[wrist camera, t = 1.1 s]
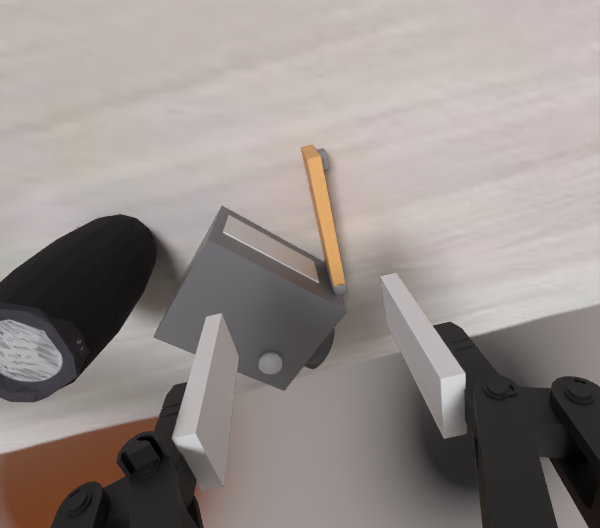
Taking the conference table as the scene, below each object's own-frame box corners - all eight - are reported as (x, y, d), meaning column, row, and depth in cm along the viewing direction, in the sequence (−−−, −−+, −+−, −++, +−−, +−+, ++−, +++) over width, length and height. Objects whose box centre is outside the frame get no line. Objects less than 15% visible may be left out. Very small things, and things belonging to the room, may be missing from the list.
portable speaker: (69, 213, 39) (-96, 312, 22) (155, 206, 39) (63, 298, 22) (93, 282, 43) (-30, 414, 25) (172, 275, 43) (105, 400, 26)
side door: (299, 147, 37) (305, 159, 31) (319, 142, 37) (329, 153, 31) (325, 266, 43) (335, 296, 37) (342, 262, 43) (354, 292, 37)
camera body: (177, 286, 44) (150, 342, 34) (222, 204, 40) (207, 241, 30) (298, 342, 49) (305, 404, 39) (349, 275, 45) (371, 325, 35)
